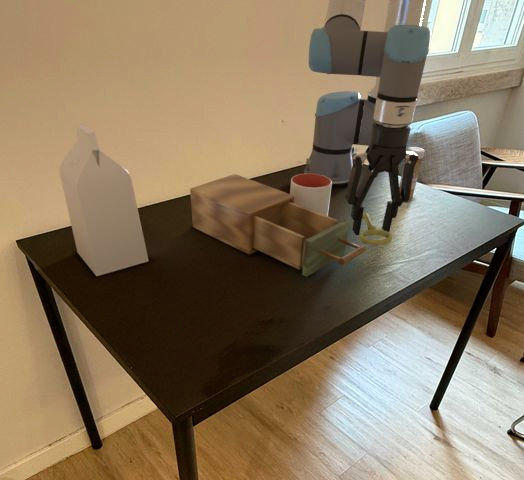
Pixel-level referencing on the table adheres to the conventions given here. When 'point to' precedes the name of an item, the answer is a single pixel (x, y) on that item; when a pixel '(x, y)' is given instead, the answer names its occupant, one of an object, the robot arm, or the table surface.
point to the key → (373, 233)
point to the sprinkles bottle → (420, 154)
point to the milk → (101, 207)
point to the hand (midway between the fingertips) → (370, 231)
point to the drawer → (302, 237)
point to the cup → (312, 192)
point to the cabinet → (233, 208)
